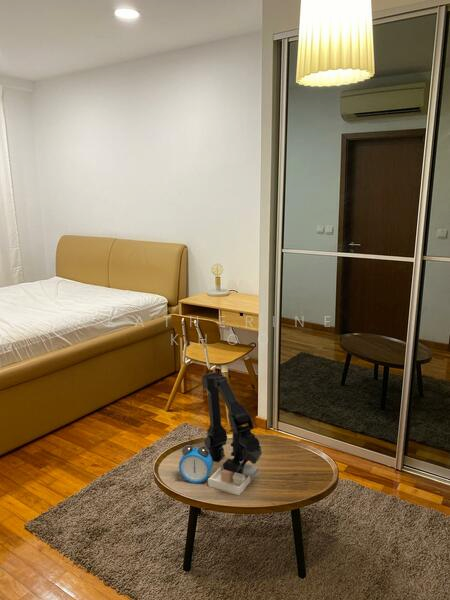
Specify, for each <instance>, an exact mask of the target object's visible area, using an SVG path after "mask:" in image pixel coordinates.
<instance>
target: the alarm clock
mask: <svg viewBox="0 0 450 600" xmlns="http://www.w3.org/2000/svg"><path fill="white" fill-rule="evenodd" d="M181 453H182V456H181V458H180V461H179V463H178V470H179V473H180V475H181V476H182V478H184V479H185V480H186V483H187V482H190V483H193V484H194V483H195V484H199V483H202V484H204V481H206V480H208V478H209V476H210V474H211V471H212V469H213V465H214V464H213V463H214V461H212V457H211V456H210V454H209V449H208V448H207V447H206V446H205V445H200V446H199V447H198V446H194V447H193V445H192V444H191V445H190V444H186V445H184V446H183V447H182V448H181Z"/></svg>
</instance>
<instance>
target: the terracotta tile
mask: <svg viewBox="0 0 450 600" xmlns="http://www.w3.org/2000/svg"><path fill="white" fill-rule="evenodd" d="M221 481H223V482H226V483H231V482H232V481H233V472H231V471H227V470H224V469H223V470H222V471H221Z"/></svg>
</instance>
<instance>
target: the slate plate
mask: <svg viewBox="0 0 450 600" xmlns="http://www.w3.org/2000/svg"><path fill="white" fill-rule="evenodd" d="M220 467H221V471H222V470H223V465H222V466H220ZM236 473H237V472H236ZM258 473H259V466H255V465H254V464H253V465H252V464H249V463H246V464H245V466H244V470H243V474H244V475H245V478H247V477H248V476H250V483H251V482H252V481H253V479H254V478H255V477H256V476H257V475H258ZM233 475H234V472H233Z"/></svg>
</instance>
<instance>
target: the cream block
mask: <svg viewBox="0 0 450 600" xmlns="http://www.w3.org/2000/svg"><path fill="white" fill-rule="evenodd" d="M245 479H246V478H245V475H244V474H240V473H234V475H233V480H234V483H235V484H238V485H241V484H242V483H243V482H244V480H245Z"/></svg>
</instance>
